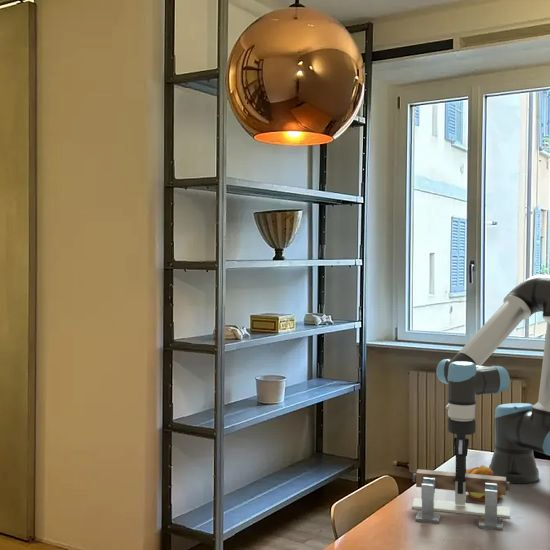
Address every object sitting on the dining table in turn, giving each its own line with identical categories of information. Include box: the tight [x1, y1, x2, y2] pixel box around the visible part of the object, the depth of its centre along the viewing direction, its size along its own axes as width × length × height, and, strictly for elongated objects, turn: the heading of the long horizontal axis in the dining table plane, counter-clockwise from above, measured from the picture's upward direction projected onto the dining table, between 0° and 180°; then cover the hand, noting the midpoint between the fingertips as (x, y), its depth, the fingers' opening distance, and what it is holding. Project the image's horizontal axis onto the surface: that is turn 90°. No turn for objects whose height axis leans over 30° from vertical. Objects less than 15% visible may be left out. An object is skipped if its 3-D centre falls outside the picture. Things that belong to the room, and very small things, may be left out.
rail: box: [412, 469, 511, 496], centre depth 201 cm, size 26×4×4 cm, turn 73°
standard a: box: [415, 477, 441, 524], centre depth 194 cm, size 6×6×10 cm
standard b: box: [478, 483, 504, 531], centre depth 189 cm, size 6×6×10 cm
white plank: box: [411, 497, 511, 519], centre depth 201 cm, size 26×7×1 cm, turn 73°
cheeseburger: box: [466, 465, 503, 502], centre depth 211 cm, size 10×11×10 cm
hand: (460, 501), depth 201 cm, fingers closed on rail, 3 cm apart
